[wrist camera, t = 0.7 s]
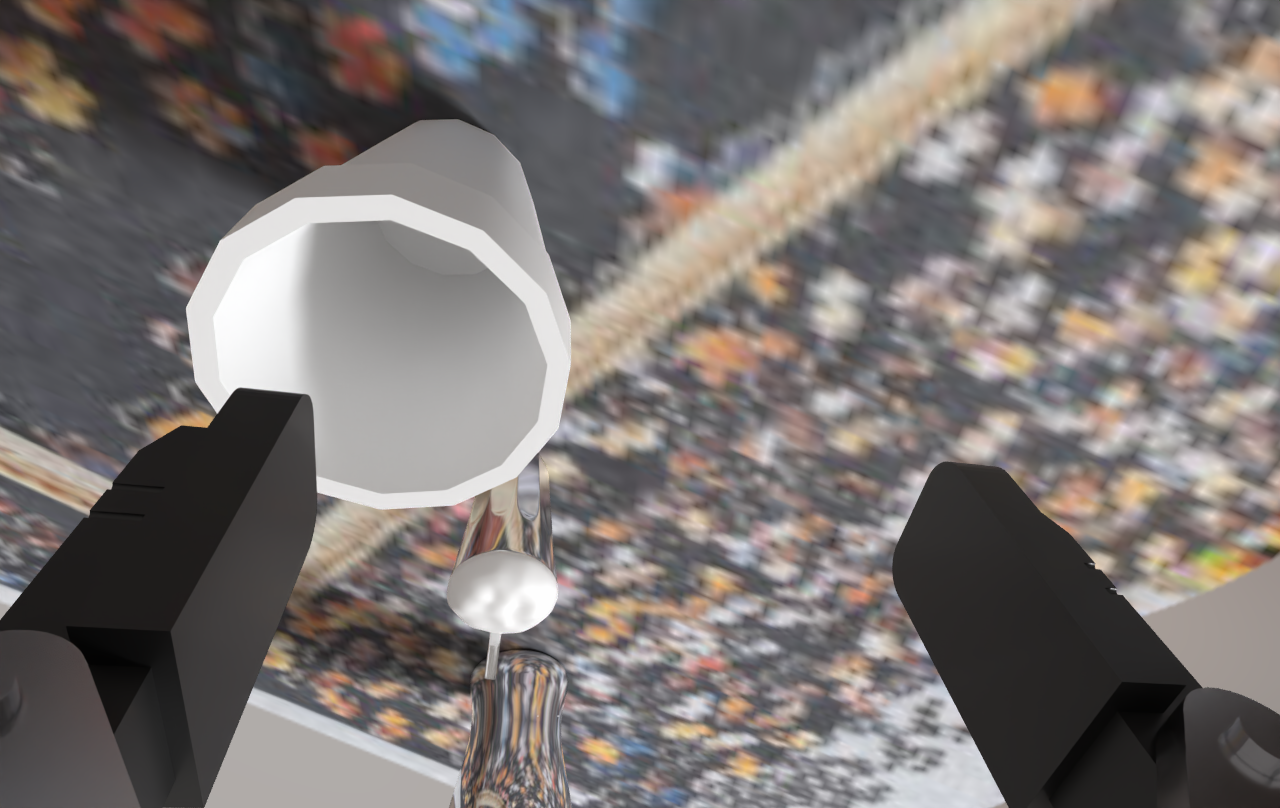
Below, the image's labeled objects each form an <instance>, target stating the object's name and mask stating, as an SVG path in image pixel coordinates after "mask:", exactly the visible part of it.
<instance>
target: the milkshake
mask: <svg viewBox="0 0 1280 808" xmlns="http://www.w3.org/2000/svg"><path fill="white" fill-rule="evenodd" d="M557 597H558V585H557V575H556V566H555V557H554V547H553V536H552V520H551V505H550V490H549V475H548V468H547V466H546V465H545V463H544V461H543V460H542V458H541V457H540V455H539V454H538V453H537V454H536V455H535V456H534V458H533V459H532V460H531V461H530V462H529V463H528V465H527V466H526V467H525V468H524V469H523V470H522V472H521V473H520V474H519V475H518V476H517V477H516V478H514V479H512V480H510V481H508V482H505V483H503V484H501V485H499V486H496V487H494V488H492V489H490V490H487V491H485V492H483V493H481V494H478V495H476V496H475V499H474V502H473V506H472V509H471V513H470V517H469V520H468V524H467V527H466V530H465V533H464V536H463V539H462V542H461V545H460V548H459V551H458V554H457V558H456V561H455V564H454V567H453V570H452V573H451V576H450V579H449V583H448V588H447V600H448V604H449V606H450V607H451V609H452V610H453V611H454V612H455V613H456V614H457V615H458V616H459V617H460V619H461V620H462V621H463V622H464V623H466V624H467V625H468V626H470V627H473V628H475V629H480V630H484V631H488V632H490V638H489V646H488V653H487V661H486V668H485V679H491V680H495V678H496V672H497V664H498V656H499V648H500V640H501V634H504V633H519V632H523V631H526V630H528V629H530V628H532V627H533V626H535V625H537V624H538V623H540V622H541V621H542V620H544V619H545V618H546V617H547V616H548V615H549V614H550V613H551V611H552V610H553V608H554V606H555V603H556V601H557Z"/></svg>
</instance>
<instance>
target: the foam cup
mask: <svg viewBox="0 0 1280 808" xmlns="http://www.w3.org/2000/svg"><path fill="white" fill-rule="evenodd" d="M186 313H187V321H188V329H189V336H190V344H191V352H192V360H193V368H194V376H195V382H196V384H197V385H198V387H199V388H200V389H201V391H202V392H203V394H204V395H205V397H206V398H207V399H208V401H209V402H210V404H211V405H212V407H213V408H214V410H215V411H216V412H217V414H218V412H219V411H220V409H221V408H222V407H223V405H224V404H225V403H226V401H227V400H228V398H229V397H230V396H231V394H232V393H233V392H234V391H235V390H236V389H237V388H240V387H241V388H251V389H261V390H271V391H280V392H290V393H300V394H307V395H309V396H310V398H311V400H312V404H313V412H314V434H315V457H316V481H317V493H321V494H325V495H328V496H332V497H336V498H340V499H343V500H347V501H351V502H354V503H358V504H362V505H366V506H369V507H373V508H377V509H380V510H382V509H399V508H416V507H434V506H451V505H456V504H458V503H460V502H463V501H465V500H467V499H469V498H472V497H474V496H476V495H478V494H481V493H483V492H485V491H487V490H490V489H492V488H494V487H496V486H499V485H501V484H503V483H505V482H508V481H510V480H512V479H514V478H516V477H517V476H518V475H519V474H520V473H521V472H522V470H523V469H524V468H525V467H526V466H527V465H528V463H529V462H530V461H531V460H532V459H533V458H534V456H535V455H536V454H537V453H538V452H539V451H540V449H541V448H542V447H543V446H544V445H545V444H546V443H547V441H548V440H549V439H550V438H551V437H552V436H553V434H554V433H555V432H556V431H557V430H558V428H559V423H560V418H561V412H562V407H563V402H564V397H565V392H566V387H567V381H568V376H569V371H570V366H571V320H570V317H569V314H568V311H567V308H566V305H565V302H564V299H563V296H562V293H561V290H560V287H559V284H558V281H557V278H556V275H555V272H554V269H553V266H552V263H551V260H550V257H549V254H548V253H547V252H546V250H545V246H544V242H543V238H542V234H541V231H540V227H539V223H538V219H537V215H536V211H535V207H534V203H533V200H532V197H531V194H530V191H529V188H528V185H527V182H526V179H525V176H524V173H523V170H522V167H521V164H520V162H519V161H518V160H517V159H516V158H515V157H514V156H513V155H512V154H511V153H510V151H509V150H508V149H507V148H506V147H505V146H504V145H503V144H502V143H501V142H500V141H499V140H498V138H497V137H496V136H495V135H493V134H491V133H489V132H487V131H484V130H482V129H480V128H477V127H475V126H473V125H470V124H468V123H466V122H464V121H461V120H459V119H445V120H420V121H418V122H415V123H413V124H412V125H410V126H408V127H406V128H405V129H403V130H401V131H399V132H398V133H396V134H394V135H392V136H391V137H389V138H387V139H385V140H384V141H382V142H380V143H378V144H377V145H375V146H373V147H371V148H370V149H368V150H366V151H365V152H363V153H361V154H359V155H358V156H356V157H354V158H352V159H351V160H349V161H347V162H346V163H344V164H342V165H333V166H323V167H321V168H319V169H317V170H316V171H314V172H312V173H310V174H309V175H307V176H305V177H303V178H302V179H300V180H298V181H296V182H295V183H293V184H291V185H289V186H288V187H286V188H284V189H282V190H281V191H279V192H277V193H275V194H274V195H272V196H270V197H268V198H267V199H265V200H263V201H261V202H260V203H258V204H256V205H255V206H254V207H253V208H252V209H251V210H250V211H249V212H248V213H247V214H246V215H245V216H244V217H243V218H242V219H241V220H240V221H239V222H238V223H237V224H236V225H235V226H234V227H233V228H232V229H231V230H230V231H229V232H228V233H227V234H226V235H225V236H224V237H223V238H222V239H221V240H220V242H219V244H218V246H217V248H216V250H215V252H214V254H213V256H212V258H211V260H210V262H209V264H208V266H207V268H206V270H205V272H204V274H203V275H202V277H201V279H200V281H199V283H198V285H197V287H196V289H195V291H194V293H193V295H192V297H191V299H190V301H189V303H188V305H187V307H186Z"/></svg>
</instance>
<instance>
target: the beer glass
mask: <svg viewBox="0 0 1280 808" xmlns="http://www.w3.org/2000/svg"><path fill="white" fill-rule="evenodd" d="M486 661H487V658H486V659H484V660H483V661H481V662H480V663H479V664H478V665H477V666H476V667H475V669H474V670H473V672H472V675H471V678H470V696H471V708H472V723H471V732H470V737H469V743H468V746H467V750H466V753H465V757H464V760H463V764H462V767H461V770H460V773H459V776H458V779H457V782H456V786H455V789H454V792H453V796H452V799H451V802H450V805H449V808H572V805H571V799H570V793H569V787H568V781H567V775H566V770H565V764H564V758H563V751H562V744H561V720H562V713H563V708H564V703H565V699H566V694H567V688H568V676H567V673H566V670H565V669H564V667H563V666H562V665H561V664H560V663H559V662H558V661H557V660H555V659H554V658H552V657H550V656H548V655H546V654H543V653H540V652H537V651H531V650H508V651H503V652H499V656H498V664H497V672H496V678H495V680H491V679H485V668H486Z"/></svg>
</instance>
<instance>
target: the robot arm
mask: <svg viewBox="0 0 1280 808" xmlns="http://www.w3.org/2000/svg"><path fill="white" fill-rule="evenodd" d="M316 513H317V481H316V457H315V434H314V412H313V404H312V400H311V398H310V396H309V395H307V394H300V393H290V392H280V391H271V390H261V389H251V388H241V387H240V388H237V389H236V390H235V391H234V392H233V393H232V394H231V396H230V397H229V398H228V400H227V401H226V403H225V404H224V405H223V407H222V408H221V409H220V411H219V412H218V414H217V415H216V416H215V418H214V419H213V421H212V422H211V423H210V425H209V426H208V428H203V427H192V426H180V427H178V428H176V429H175V430H173V431H171V432H170V433H168V434H166V435H164V436H163V437H161V438H159V439H158V440H156V441H154V442H153V443H151V444H149V445H148V446H146V447H144V448H142V449H141V450H139V451H138V452H137V454H136V455H135V456H134V457H133V458H132V460H131V461H130V462H129V463H128V465H127V466H126V467H125V468H124V469H123V471H122V472H121V473H120V474H119V476H118V477H117V478H116V479H115V480H114V482H113V486H112V489H111V490H108V489H107V490H106V491H105V493H104V494H103V495H102V496H101V498H100V499H99V500H98V501H97V502H96V504H95V505H94V506H93V507H92V509H91V510H90V515H89V518H83V519H82V521H81V522H80V523H79V524H78V526H77V527H76V528H75V529H74V530H73V532H72V533H71V534H70V535H69V537H68V538H67V539H66V540H65V541H64V543H63V544H62V545H61V546H60V548H59V549H58V550H57V551H56V552H55V554H54V555H53V556H52V557H51V559H50V560H49V561H48V562H47V563H46V565H45V566H44V567H43V568H42V570H41V571H40V572H39V573H38V574H37V576H36V577H35V578H34V579H33V581H32V582H31V583H30V584H29V585H28V587H27V588H26V589H25V590H24V592H23V593H22V594H21V595H20V596H19V598H18V599H17V600H16V601H15V603H14V604H13V605H12V606H11V607H10V609H9V610H8V611H7V612H6V614H5V615H4V616H3V617H2V618H1V620H0V808H204V807H205V804H206V802H207V799H208V797H209V794H210V792H211V789H212V787H213V784H214V782H215V779H216V777H217V774H218V772H219V770H220V767H221V764H222V762H223V760H224V757H225V755H226V752H227V750H228V748H229V745H230V743H231V740H232V738H233V735H234V733H235V730H236V728H237V725H238V723H239V720H240V718H241V715H242V713H243V711H244V708H245V705H246V703H247V701H248V698H249V696H250V693H251V691H252V689H253V686H254V684H255V681H256V679H257V676H258V674H259V671H260V669H261V666H262V664H263V661H264V659H265V657H266V654H267V652H268V649H269V647H270V644H271V642H272V639H273V637H274V634H275V632H276V629H277V627H278V625H279V622H280V620H281V617H282V615H283V612H284V610H285V607H286V605H287V602H288V600H289V597H290V595H291V593H292V590H293V588H294V585H295V583H296V580H297V578H298V575H299V573H300V570H301V568H302V566H303V563H304V561H305V558H306V556H307V553H308V550H309V548H310V544H311V541H312V537H313V533H314V527H315V521H316ZM892 571H893V580H894V585H895V588H896V591H897V594H898V596H899V598H900V600H901V602H902V603H903V605H904V607H905V609H906V611H907V613H908V615H909V617H910V619H911V621H912V623H913V625H914V627H915V628H916V630H917V632H918V634H919V636H920V638H921V640H922V642H923V644H924V646H925V648H926V650H927V651H928V653H929V655H930V657H931V659H932V661H933V663H934V665H935V667H936V669H937V671H938V673H939V675H940V676H941V678H942V680H943V682H944V684H945V686H946V688H947V690H948V692H949V694H950V696H951V698H952V699H953V701H954V703H955V705H956V707H957V709H958V711H959V713H960V715H961V717H962V719H963V721H964V723H965V724H966V726H967V728H968V730H969V732H970V734H971V736H972V738H973V740H974V742H975V744H976V746H977V747H978V749H979V751H980V753H981V755H982V757H983V759H984V761H985V763H986V765H987V767H988V769H989V771H990V772H991V774H992V776H993V778H994V780H995V782H996V784H997V786H998V788H999V790H1000V792H1001V794H1002V795H1003V797H1004V799H1005V801H1006V803H1007V805H1008V807H1009V808H1280V715H1279V714H1278V713H1276V712H1275V711H1273V710H1271V709H1270V708H1268V707H1266V706H1264V705H1262V704H1260V703H1258V702H1256V701H1254V700H1252V699H1250V698H1248V697H1245V696H1243V695H1240V694H1237V693H1234V692H1231V691H1227V690H1223V689H1219V688H1209V687H1207V688H1202V687H1201V685H1200V684H1199V683H1198V682H1197V681H1196V680H1195V679H1194V677H1193V676H1192V675H1191V674H1190V673H1189V672H1188V670H1187V669H1186V668H1185V667H1184V666H1183V665H1182V664H1181V662H1180V661H1179V660H1178V659H1177V658H1176V657H1175V655H1174V654H1173V653H1172V652H1171V651H1170V650H1169V648H1168V647H1167V646H1166V645H1165V644H1164V643H1163V642H1162V640H1160V638H1159V637H1158V636H1157V635H1156V633H1155V632H1154V631H1153V630H1152V629H1151V628H1150V626H1149V625H1148V624H1147V623H1146V622H1145V621H1144V620H1143V618H1142V617H1141V616H1140V615H1139V614H1138V612H1137V611H1136V610H1135V609H1134V608H1133V607H1132V606H1131V604H1130V603H1129V602H1128V601H1127V600H1126V599H1125V597H1124V596H1123V595H1117V593H1116V590H1117V588H1116V587H1115V586H1114V585H1113V584H1112V582H1111V581H1110V580H1109V579H1108V578H1107V577H1106V575H1105V574H1104V573H1103V572H1102V571H1101V570H1098V569H1095V563H1094V562H1093V560H1092V559H1091V558H1090V557H1089V556H1088V555H1087V553H1086V552H1085V551H1084V550H1083V549H1082V548H1081V546H1080V545H1079V544H1078V543H1077V542H1076V541H1075V539H1074V538H1073V537H1072V536H1071V535H1070V534H1069V533H1068V532H1067V531H1065V530H1064V529H1063V528H1061V527H1060V526H1059V525H1057V524H1056V523H1055V522H1053V521H1052V520H1051V519H1049V518H1048V517H1047V516H1045V515H1044V514H1043V513H1041V512H1040V511H1039V510H1038V508H1037V507H1036V506H1035V505H1034V504H1033V502H1032V501H1031V500H1030V499H1029V498H1028V497H1027V495H1026V494H1025V493H1024V492H1023V491H1022V489H1021V488H1020V487H1019V486H1018V485H1017V484H1016V482H1015V481H1014V480H1013V479H1012V478H1011V476H1010V475H1009V474H1008V473H1007V472H1006V471H1005V470H1003V469H1002V468H999V467H995V466H985V465H975V464H966V463H956V462H942V463H940V464H938V465H937V466H936V467H935V468H934V469H933V470H932V472H931V473H930V475H929V477H928V479H927V481H926V483H925V486H924V488H923V490H922V492H921V494H920V496H919V498H918V501H917V503H916V505H915V507H914V509H913V511H912V514H911V516H910V518H909V520H908V522H907V524H906V526H905V529H904V531H903V533H902V535H901V537H900V539H899V541H898V544H897V546H896V549H895V552H894V556H893V566H892Z"/></svg>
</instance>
